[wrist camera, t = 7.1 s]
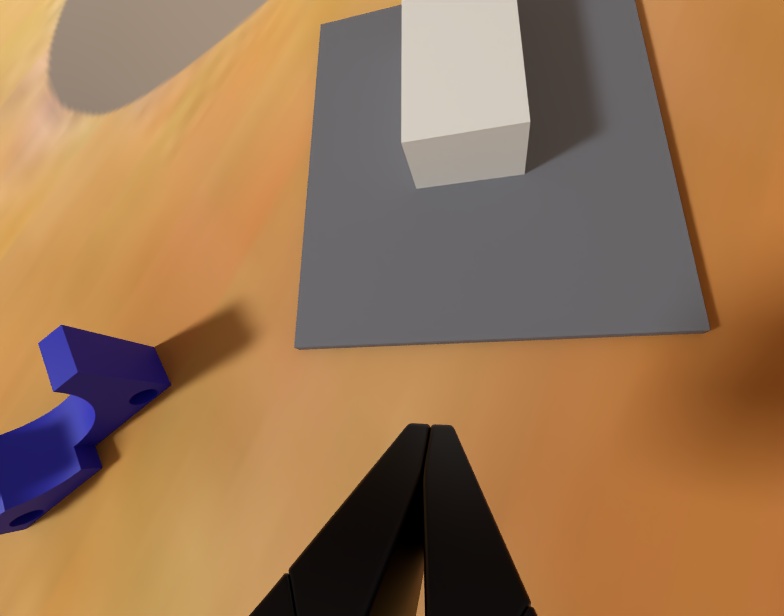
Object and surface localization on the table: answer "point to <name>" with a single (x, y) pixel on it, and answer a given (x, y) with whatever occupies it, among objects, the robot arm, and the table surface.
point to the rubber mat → (497, 200)
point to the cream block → (463, 91)
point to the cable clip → (73, 419)
